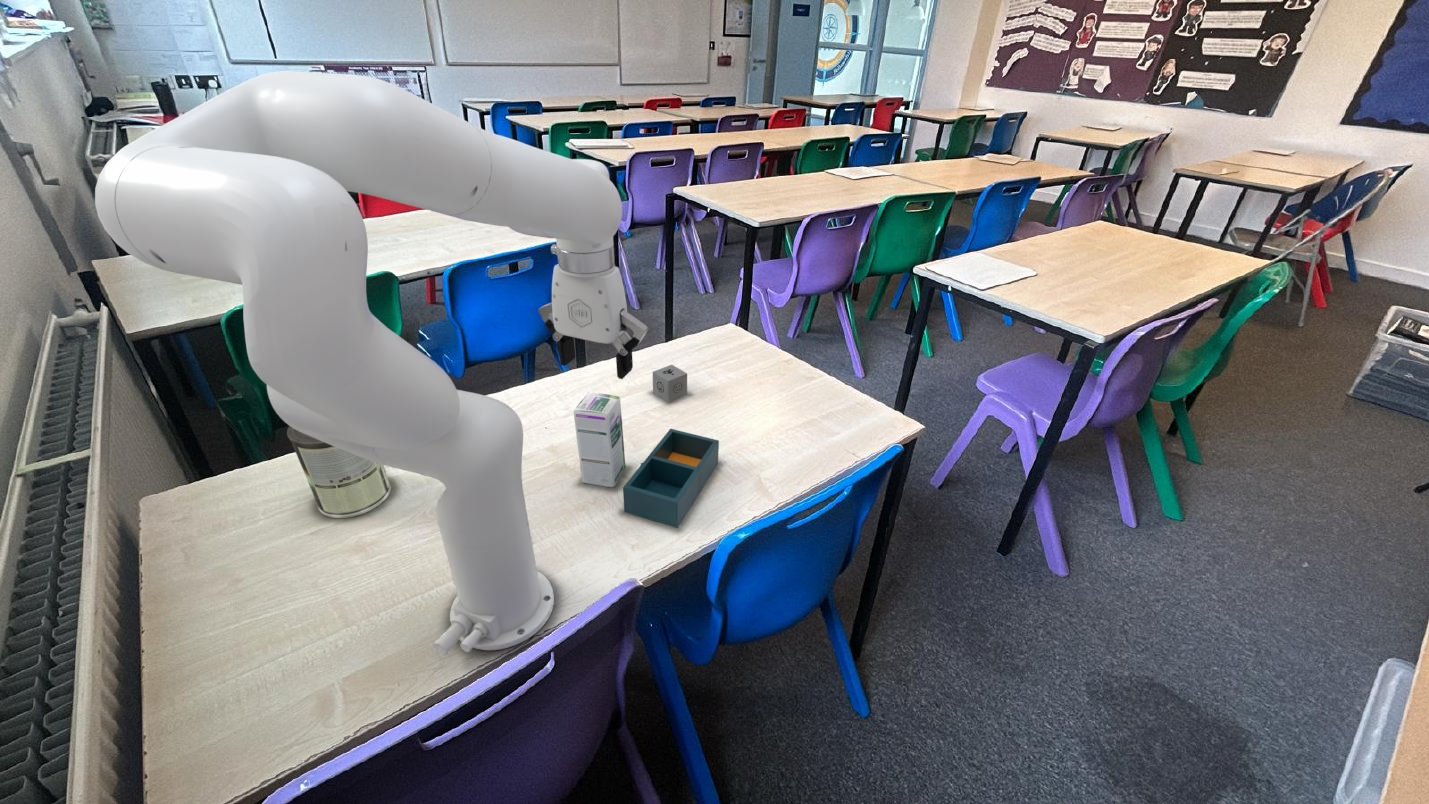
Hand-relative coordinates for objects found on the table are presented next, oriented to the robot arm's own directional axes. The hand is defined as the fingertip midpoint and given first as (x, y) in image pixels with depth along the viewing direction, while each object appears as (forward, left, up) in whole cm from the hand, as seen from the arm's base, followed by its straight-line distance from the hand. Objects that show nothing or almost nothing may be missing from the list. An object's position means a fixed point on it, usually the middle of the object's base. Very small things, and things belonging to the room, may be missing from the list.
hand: (596, 368), depth 91 cm
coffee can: (-20, +33, -21) cm, 44 cm away
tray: (+2, -12, -20) cm, 24 cm away
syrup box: (0, 0, -21) cm, 21 cm away
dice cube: (+29, +1, -21) cm, 35 cm away
